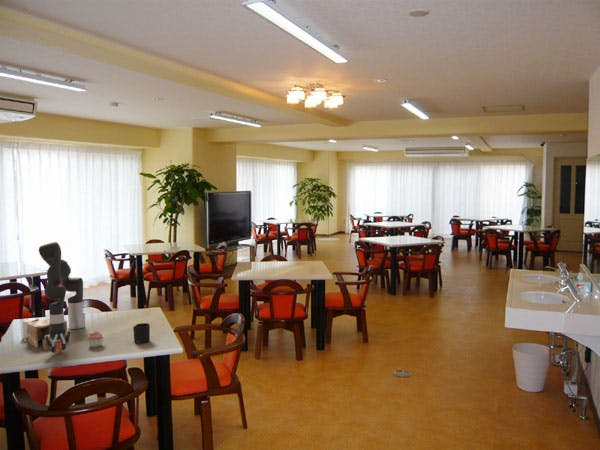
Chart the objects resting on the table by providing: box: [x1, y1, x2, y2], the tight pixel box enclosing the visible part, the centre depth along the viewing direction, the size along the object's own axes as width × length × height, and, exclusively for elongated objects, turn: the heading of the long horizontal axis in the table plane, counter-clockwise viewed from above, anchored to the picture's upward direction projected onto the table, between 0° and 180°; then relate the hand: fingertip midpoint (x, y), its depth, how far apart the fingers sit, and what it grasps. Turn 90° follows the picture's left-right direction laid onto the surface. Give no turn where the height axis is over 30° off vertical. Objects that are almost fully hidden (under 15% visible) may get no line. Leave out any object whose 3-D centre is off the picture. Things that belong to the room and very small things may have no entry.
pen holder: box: [132, 322, 151, 345], centre depth 315 cm, size 9×9×10 cm
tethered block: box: [42, 338, 63, 355], centre depth 300 cm, size 5×18×7 cm, turn 45°
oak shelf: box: [27, 318, 68, 348], centre depth 316 cm, size 18×14×12 cm
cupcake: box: [86, 329, 105, 349], centre depth 307 cm, size 9×9×10 cm
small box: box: [21, 318, 40, 339], centre depth 328 cm, size 8×6×10 cm
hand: (58, 351), depth 295 cm, fingers open, 4 cm apart
